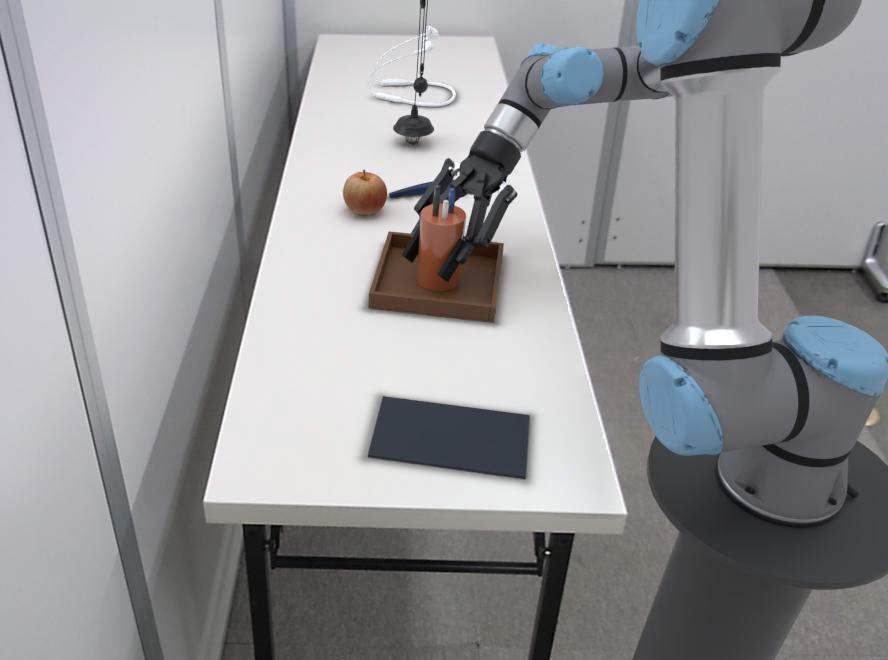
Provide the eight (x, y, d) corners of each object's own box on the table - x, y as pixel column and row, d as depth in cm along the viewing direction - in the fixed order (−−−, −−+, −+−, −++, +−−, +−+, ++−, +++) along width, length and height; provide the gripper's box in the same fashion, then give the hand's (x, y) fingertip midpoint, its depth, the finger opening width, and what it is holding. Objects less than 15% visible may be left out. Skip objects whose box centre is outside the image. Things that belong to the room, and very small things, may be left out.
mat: (529, 417, 121) (529, 414, 121) (525, 479, 112) (525, 476, 112) (382, 398, 124) (382, 395, 124) (367, 457, 115) (367, 454, 115)
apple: (336, 204, 167) (336, 163, 161) (377, 198, 168) (378, 158, 163) (350, 224, 161) (350, 183, 156) (392, 218, 163) (393, 177, 158)
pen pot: (461, 271, 149) (471, 176, 138) (457, 294, 143) (467, 197, 132) (419, 266, 150) (425, 171, 139) (413, 289, 144) (419, 192, 133)
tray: (502, 257, 153) (504, 242, 151) (493, 322, 138) (496, 307, 136) (388, 245, 155) (388, 231, 154) (368, 308, 141) (368, 293, 139)
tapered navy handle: (391, 206, 168) (391, 196, 166) (387, 194, 170) (387, 183, 168) (472, 195, 170) (474, 185, 168) (468, 184, 172) (469, 173, 170)
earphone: (369, 63, 211) (430, 15, 202) (411, 119, 218) (472, 76, 209) (358, 84, 201) (422, 35, 192) (403, 142, 208) (467, 98, 198)
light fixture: (440, 153, 184) (452, -10, 163) (400, 157, 182) (408, -7, 162) (426, 133, 191) (436, -25, 170) (387, 137, 189) (393, -23, 169)
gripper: (562, 173, 138) (482, 302, 140) (464, 133, 149) (391, 253, 151) (545, 151, 132) (462, 285, 134) (444, 110, 143) (369, 235, 145)
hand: (424, 268), depth 142 cm, fingers closed on pen pot, 7 cm apart
